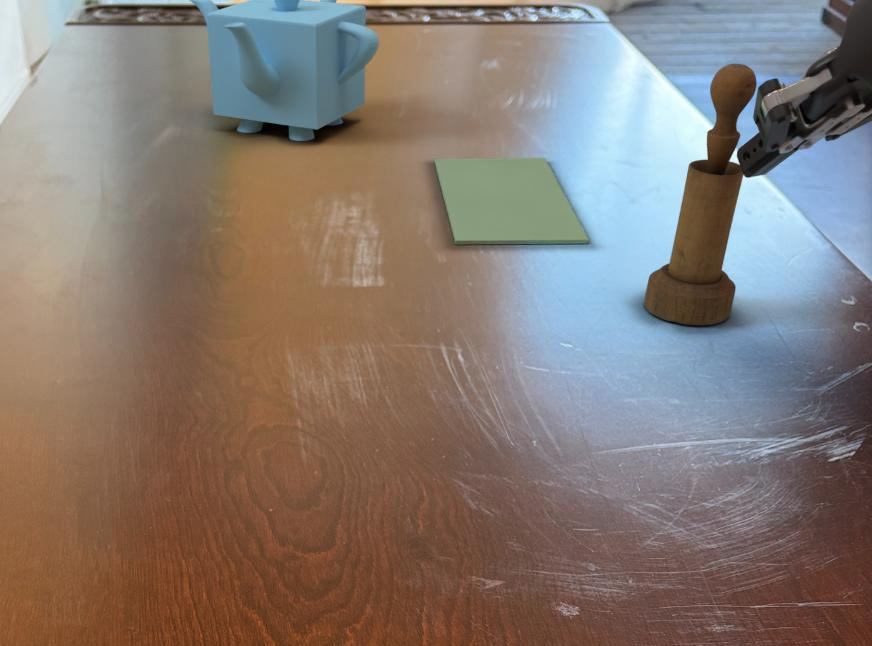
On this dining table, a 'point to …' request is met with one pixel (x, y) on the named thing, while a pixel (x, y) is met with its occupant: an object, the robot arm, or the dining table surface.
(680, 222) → the mortar and pestle
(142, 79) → the dining table surface
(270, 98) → the teakettle
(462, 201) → the mat
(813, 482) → the dining table surface
